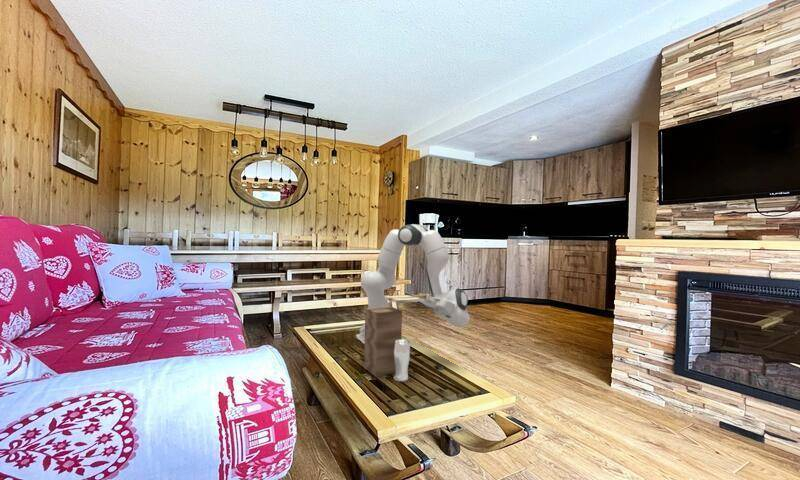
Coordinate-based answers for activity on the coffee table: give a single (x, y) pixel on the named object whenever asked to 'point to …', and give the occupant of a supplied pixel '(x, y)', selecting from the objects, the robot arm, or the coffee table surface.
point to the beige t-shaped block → (406, 298)
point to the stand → (381, 338)
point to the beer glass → (401, 359)
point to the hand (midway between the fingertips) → (423, 295)
